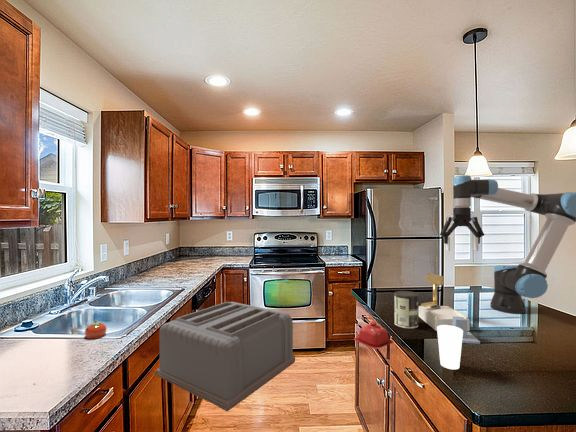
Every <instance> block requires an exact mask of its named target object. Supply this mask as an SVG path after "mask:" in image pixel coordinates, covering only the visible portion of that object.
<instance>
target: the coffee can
mask: <svg viewBox="0 0 576 432" xmlns="http://www.w3.org/2000/svg"><path fill="white" fill-rule="evenodd" d="M393 295H394V303H393V304H394V314H393V315H394V323H393V324H394V325H395V326H397V327H398V328H403V329H409V330H410V329H411V330H412V329H417V328H418V327H419V293H417V292H414V291H411V290H409V291H408V290H397V291H394V293H393Z"/></svg>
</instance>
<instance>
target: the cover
mask: <svg viewBox="0 0 576 432" xmlns="http://www.w3.org/2000/svg"><path fill="white" fill-rule="evenodd" d="M452 326H456V327H458V328H461V329H462V330H463V338H462V344H474V345H475V344H476V345H481V340H479V339H478V338H477V337H476V336H474V335H473V334H472V333H471V332H470V331H467V320H466V319H465V318H464V317H453V316H452Z"/></svg>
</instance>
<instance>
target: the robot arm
mask: <svg viewBox="0 0 576 432" xmlns="http://www.w3.org/2000/svg"><path fill="white" fill-rule="evenodd" d="M452 183H453V184H452V186H453V187H452V189H453V190H452V191H453V192H452V194H453V199H452V207H453V208H452V214H453V217H451V216H447V217H446V221H445V223H444V225H443V227H442V229H441V231H440V233H439V235H440V236H441V237H443V243H444V244H445V251H448V252H449V251H451V237H449V236H450V235H451V234H452V233H453V232H454V231H455V230H456V228H457V227H466V228H468V230H469V231H470V232H471V233H472V234H473V251H476V252H478V251H479V244H480V243H481V238H482V237H484V236H485V233H484V231H483V229H482V228H481V225H480V223H479V221H478V219H479V218H478V217H477V216H472V217H471V212H472V210H471V209H472V207H471V206H472V199H471V198H474V199H479V200H484V201H489V202H493V203H497V204H502V205H507V206H512V207H516V208H519V209H524V210H525V211H526V212H530V213H535V214H538V215H542V216H545V218H546V219H545V222H544V224H543V226H542V227H541V229H540V232H539V233H538V235H537V237H536V240H535V241H534V243H533V245H532V247H531V249H530V251H529V252H528V255H527V256H526V258H525V260H524V262H522V263H519V264H518V265H495V266H494V269H493V274H494V275H493V278H494V280H493V283H494V284H493V285H494V287H493V289H494V290H493V291H494V293H493V295H492V298H491V301H490V308H491V309H493V310H495V311H499V312H503V313H509V314H525V313H526V306H525V303H524V300H523V297H524V298H527V299H537V298H540V297H541V296H543V295H544V294H545V293H546V292H547V290H548V286H549V285H548V281H547V277H548V274H547V272H546V270H547V268H548V267H549V264H550V262H551V261H552V258H553V257H554V255H555V253H556V251H557V248H559V245H560V243H561V242H562V239H563V238H564V235H565V234H566V232H567V230H568V228H569V227H570V226H573V225H576V191H575V192H574V191H573V192H572V191H567V192H561V193H560V192H559V193H545V194H542V193H541V194H540V193H535V192H533V193H530V194H529V193H524V192H520V191H515V190H511V189H506V188H500V187H499V184H498V181H497V180H495V179H490V178H488V179H472V177H471V175H469V174H467V175H466V174H465V175H456V176H454V177H453V182H452ZM452 222H453V223H452ZM471 222H472V223H471ZM450 225H451V226H450Z"/></svg>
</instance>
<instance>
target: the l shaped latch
mask: <svg viewBox="0 0 576 432" xmlns="http://www.w3.org/2000/svg"><path fill="white" fill-rule="evenodd" d="M425 275H426V279H425V280H426V282H425V283H429V284H432V301H429V302H423V303H420V306H423V307H429V306H437V305H438V286H444V285H445V276H443V275H439V274H433V273H431V272H430V273H426V274H425Z"/></svg>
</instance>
